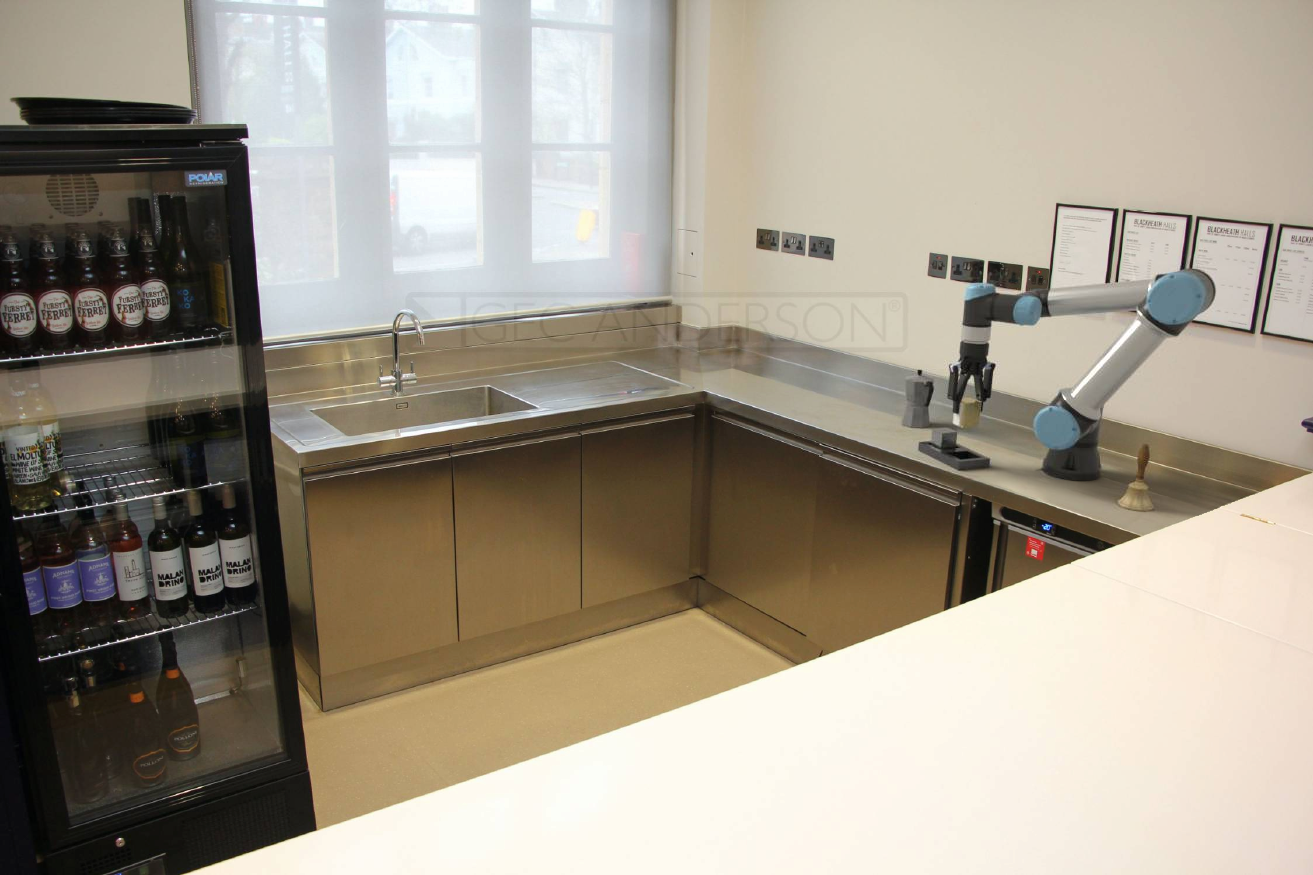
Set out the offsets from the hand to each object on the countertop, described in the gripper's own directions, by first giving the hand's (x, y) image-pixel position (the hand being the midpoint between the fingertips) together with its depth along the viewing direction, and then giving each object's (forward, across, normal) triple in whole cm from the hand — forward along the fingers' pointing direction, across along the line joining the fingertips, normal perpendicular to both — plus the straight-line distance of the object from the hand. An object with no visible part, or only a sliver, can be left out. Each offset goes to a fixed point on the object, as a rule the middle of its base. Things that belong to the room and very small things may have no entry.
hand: (966, 423), depth 280 cm
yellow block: (0, 0, 0) cm, 0 cm away
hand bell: (+12, -22, +41) cm, 48 cm away
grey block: (+12, 0, -10) cm, 15 cm away
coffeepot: (+12, -11, -41) cm, 44 cm away
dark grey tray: (+12, 0, -5) cm, 13 cm away
